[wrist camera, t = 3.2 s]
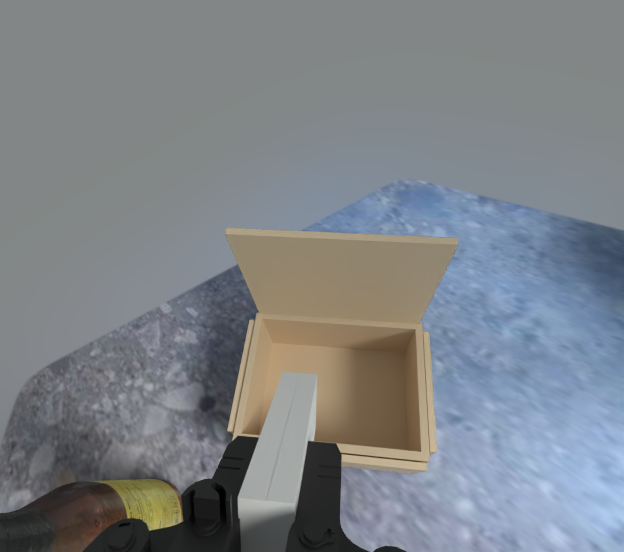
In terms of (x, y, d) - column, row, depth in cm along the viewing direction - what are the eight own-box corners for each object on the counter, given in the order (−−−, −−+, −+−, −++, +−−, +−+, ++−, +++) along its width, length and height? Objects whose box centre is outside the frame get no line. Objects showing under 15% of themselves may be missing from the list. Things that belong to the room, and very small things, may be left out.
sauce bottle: (152, 465, 34) (-33, 441, 17) (204, 505, 32) (54, 522, 15) (100, 539, 31) (-182, 598, 14) (153, 587, 30) (-99, 722, 12)
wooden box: (414, 350, 38) (429, 323, 32) (420, 475, 32) (438, 471, 26) (263, 338, 40) (250, 311, 34) (243, 456, 34) (222, 448, 28)
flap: (418, 317, 32) (457, 236, 22) (419, 323, 32) (458, 244, 22) (260, 307, 34) (226, 226, 23) (259, 313, 34) (224, 234, 23)
